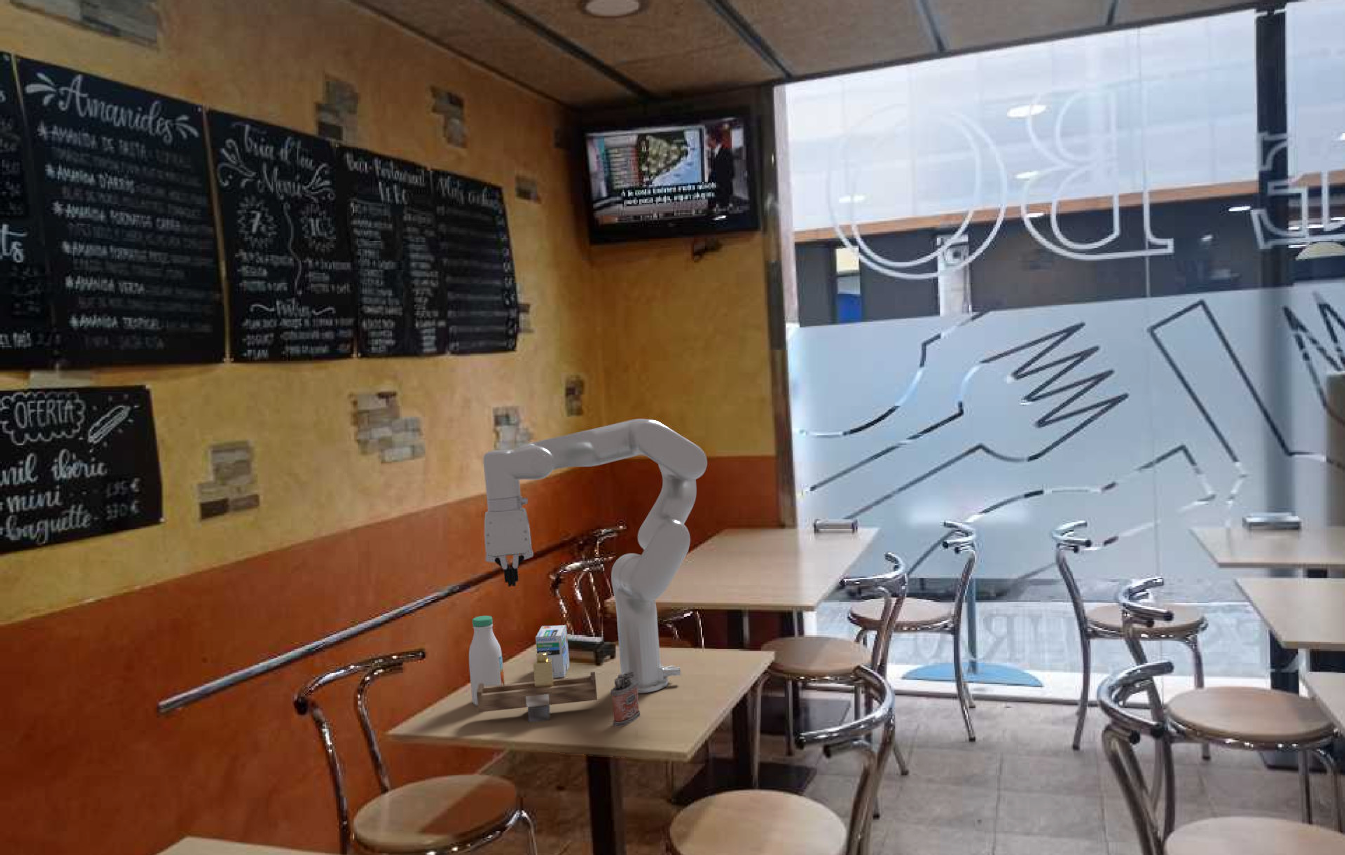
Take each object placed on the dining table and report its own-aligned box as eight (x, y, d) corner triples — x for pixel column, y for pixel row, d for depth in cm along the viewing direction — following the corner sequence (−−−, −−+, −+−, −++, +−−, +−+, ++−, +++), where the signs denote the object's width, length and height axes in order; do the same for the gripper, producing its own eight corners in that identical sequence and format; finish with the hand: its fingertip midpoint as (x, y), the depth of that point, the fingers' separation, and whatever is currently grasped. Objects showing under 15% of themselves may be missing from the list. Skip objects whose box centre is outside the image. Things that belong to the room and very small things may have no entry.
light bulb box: (565, 677, 248) (561, 635, 248) (538, 679, 248) (534, 637, 248) (570, 664, 259) (566, 624, 258) (544, 666, 259) (541, 625, 258)
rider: (553, 686, 224) (550, 651, 224) (553, 690, 221) (550, 654, 221) (535, 688, 224) (532, 653, 223) (535, 692, 221) (532, 656, 220)
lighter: (622, 727, 211) (619, 681, 211) (609, 725, 213) (606, 679, 213) (643, 714, 218) (640, 669, 218) (630, 712, 220) (627, 668, 219)
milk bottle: (498, 707, 230) (491, 621, 228) (467, 707, 231) (459, 622, 230) (510, 695, 237) (503, 613, 236) (480, 695, 239) (473, 613, 238)
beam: (597, 702, 228) (594, 670, 227) (598, 714, 220) (595, 681, 220) (482, 714, 225) (479, 682, 225) (479, 727, 217) (476, 693, 217)
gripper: (538, 499, 228) (545, 578, 230) (472, 505, 227) (480, 585, 228) (537, 503, 221) (545, 585, 222) (469, 510, 219) (477, 592, 221)
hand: (512, 585), depth 225 cm, fingers closed
